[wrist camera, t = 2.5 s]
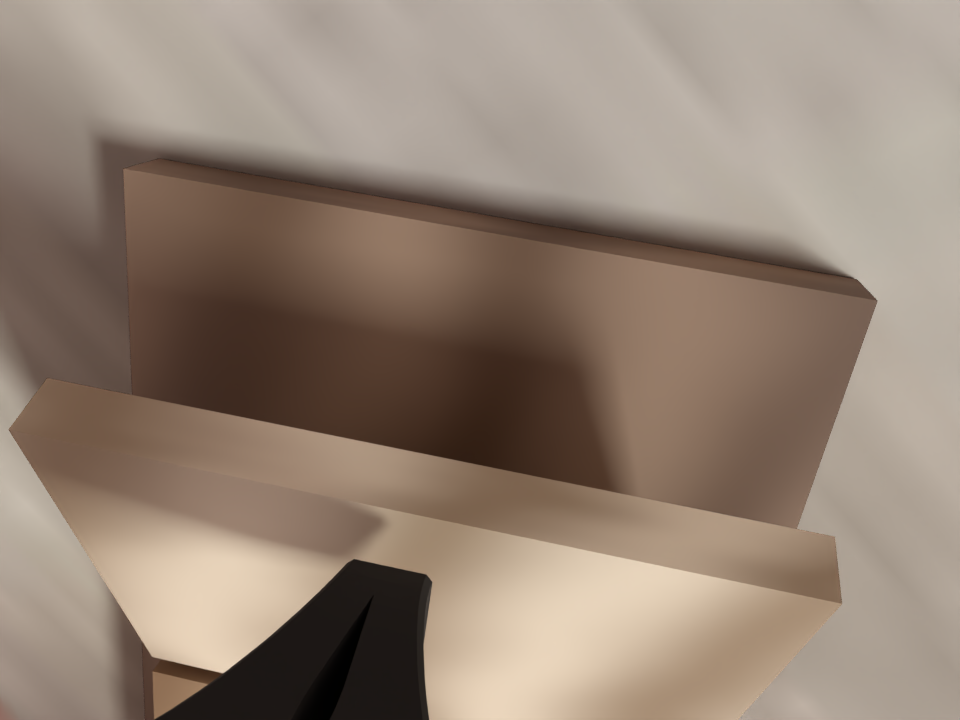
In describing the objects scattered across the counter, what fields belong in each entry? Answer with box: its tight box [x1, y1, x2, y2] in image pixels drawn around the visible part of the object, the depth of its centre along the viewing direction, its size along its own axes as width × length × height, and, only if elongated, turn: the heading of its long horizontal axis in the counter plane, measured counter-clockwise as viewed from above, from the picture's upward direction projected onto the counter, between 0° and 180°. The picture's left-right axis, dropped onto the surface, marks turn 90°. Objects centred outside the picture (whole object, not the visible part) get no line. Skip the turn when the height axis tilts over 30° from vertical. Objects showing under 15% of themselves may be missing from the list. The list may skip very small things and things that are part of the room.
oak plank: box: [9, 378, 842, 720], centre depth 17 cm, size 14×10×1 cm
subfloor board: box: [123, 159, 877, 720], centre depth 21 cm, size 16×20×3 cm
